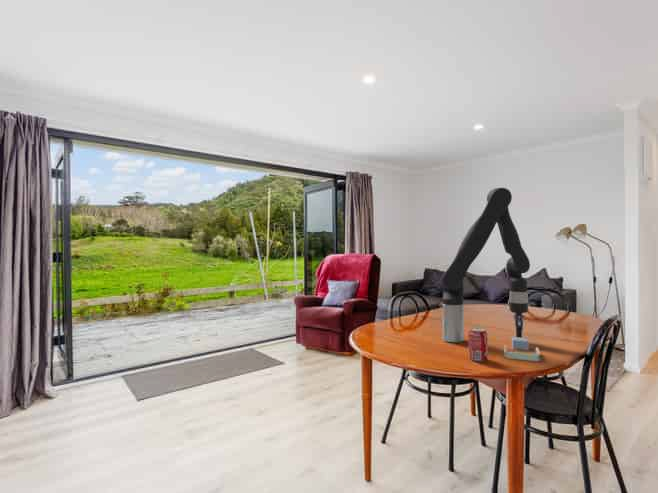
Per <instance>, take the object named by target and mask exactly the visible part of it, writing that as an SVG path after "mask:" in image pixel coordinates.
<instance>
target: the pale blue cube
mask: <svg viewBox="0 0 658 493" xmlns="http://www.w3.org/2000/svg"><path fill="white" fill-rule="evenodd" d="M529 346H530V341H529V339H528V338H527V337H522V338H519V337H516V336H511V348H512V347H513V348H512V350H516V349H518V351H519V350H520V351H530V347H529Z"/></svg>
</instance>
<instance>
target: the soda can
mask: <svg viewBox="0 0 658 493" xmlns="http://www.w3.org/2000/svg"><path fill="white" fill-rule="evenodd" d="M467 336H468V337H467V339H468V344H467V345H468V357H469V359H470V360H472V361H474V362H479V363H481V362H485V361H487V360H488V358H489V356H488V354H489V353H488V352H489V346H488V345H489V342H488V340H489V339H488V333H487V331H486V329H485V328H482V327H471V328H469V332H468V335H467Z"/></svg>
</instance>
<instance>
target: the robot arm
mask: <svg viewBox="0 0 658 493" xmlns="http://www.w3.org/2000/svg"><path fill="white" fill-rule="evenodd" d="M486 202H487V203H486V205H485V207H484V209H483V210H482V213H481V214H480V215H479V216H478V218H477V219H476V220H475V222H474V223H473V224H472V225H471V226H470V228H469V229H468V231H467V233H466V234H465V236H464V238H463V240H462V242H461V243H460V245H459V248H458V250H457V252H456V254H455V257H454V259H453V261H451V262H452V263H451V264H450V265H449V266H448V268H447V269H446V271H445V272H444V273H443V274H442V276H441V284H442V319H441V322H442V323H441V324H442V326H441V328H442V330H441V331H442V341H443V342H446V343H447V342H448V343H463V342H465V333H464V332H465V329H464V327H465V326H464V325H465V324H464V278H465V277H466V274H467V272H468V270H469V268H470V266H471V265H472V264H473V262H474V261H475V260H476V259H477V257H479V254H481V251H482V250H483V249H484V247H485V245H486V244H487V242H488V240H489V238H490V236H491V235H492V232H493V230H494V228H495V226H496V224H497V227H498V231H499V234H500V238H501V242H502V245H503V248H504V251H505V253H506V254H508V255H509V256H510V257H509V258H508V259H507V261H506V265H505V268H506V274H507V278H508V281H509V297H508V298H509V299H508V300H509V303H508V304H509V308H508V309H509V312H511V313H515V314H514V315H513V321H514V326H515V334H516V335H515V337H519V338H523V327H524V321H525V317H524V315H523V314H527V313H528V312H529V295H528V282H527V280H526V279H525V278H524V277H523V275H522V274H526V273H527V272H529V270H530V268H531V264H530V263H531V262H530V259H529V257H528V255H527V253H526V252H525V250H524V248H523V247H522V243H521V241H520V237H519V233H518V230H517V228H516V226H515V223H514V222H513V220H512V216H511V214H510V211H509V205H510V204H511V202H512V192H511V191H510V190H509V189H508V188H506V187H496V188H493V189H491V190H490V191H489V192H488V194H487V196H486Z"/></svg>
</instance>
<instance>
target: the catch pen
mask: <svg viewBox="0 0 658 493" xmlns="http://www.w3.org/2000/svg"><path fill="white" fill-rule="evenodd" d="M503 356H504V357H503V358H504V359H511V360H521V361H531V362H541V353H540V350H539V347H535V353H528V352H516V351H515V352H514V351H507V344H504V345H503Z"/></svg>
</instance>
